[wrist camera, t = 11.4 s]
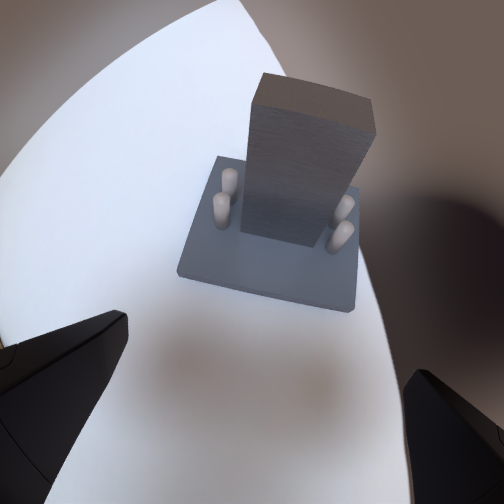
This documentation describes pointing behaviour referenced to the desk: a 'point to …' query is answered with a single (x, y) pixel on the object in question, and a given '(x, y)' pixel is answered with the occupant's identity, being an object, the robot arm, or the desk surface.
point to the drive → (301, 156)
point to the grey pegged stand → (270, 249)
